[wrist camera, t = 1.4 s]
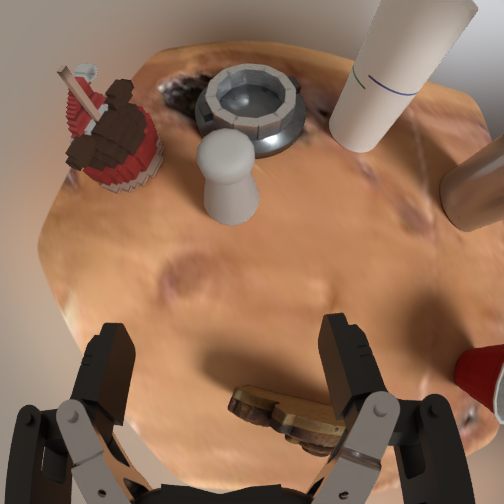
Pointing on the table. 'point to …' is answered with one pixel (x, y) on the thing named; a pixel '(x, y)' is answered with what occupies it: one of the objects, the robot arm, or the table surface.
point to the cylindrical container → (395, 66)
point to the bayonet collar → (253, 107)
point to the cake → (109, 132)
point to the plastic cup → (483, 377)
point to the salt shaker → (228, 176)
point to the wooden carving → (289, 418)
